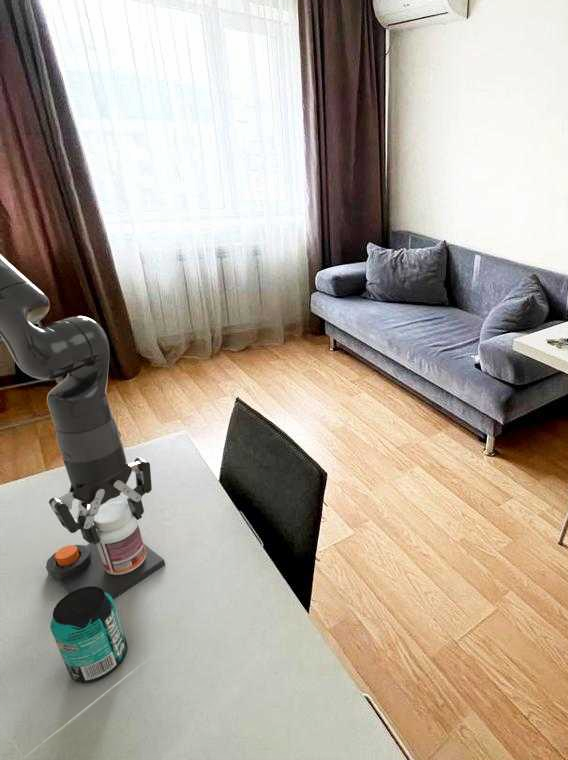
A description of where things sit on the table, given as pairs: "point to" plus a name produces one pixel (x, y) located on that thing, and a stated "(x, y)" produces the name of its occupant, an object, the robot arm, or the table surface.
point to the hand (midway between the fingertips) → (116, 528)
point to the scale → (100, 571)
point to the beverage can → (88, 634)
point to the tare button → (67, 555)
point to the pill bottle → (119, 538)
